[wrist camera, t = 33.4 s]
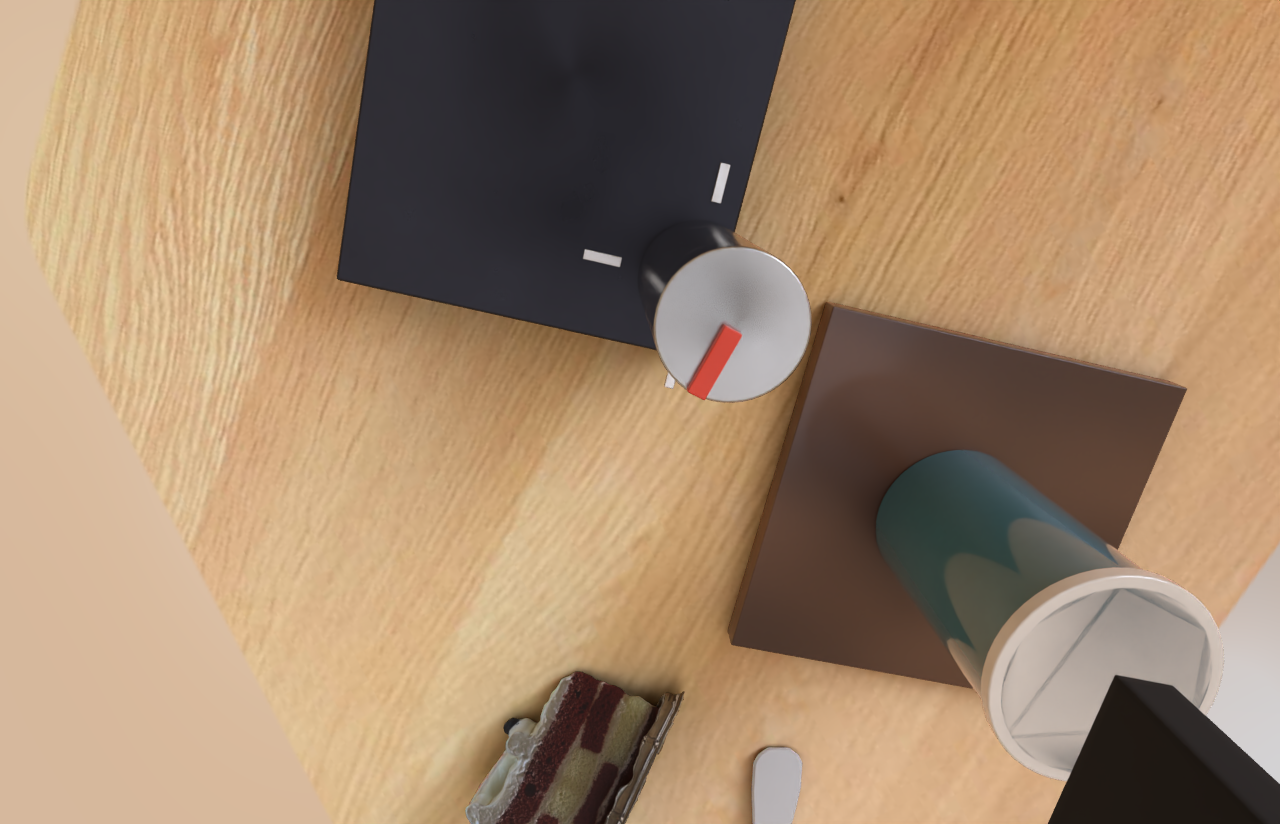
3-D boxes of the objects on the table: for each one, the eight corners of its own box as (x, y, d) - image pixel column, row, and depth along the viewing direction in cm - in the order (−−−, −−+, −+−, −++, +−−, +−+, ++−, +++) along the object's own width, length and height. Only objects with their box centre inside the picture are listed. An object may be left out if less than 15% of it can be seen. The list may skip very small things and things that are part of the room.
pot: (898, 426, 36) (1039, 554, 25) (1058, 461, 37) (1265, 600, 26) (846, 580, 38) (954, 763, 27) (999, 609, 39) (1167, 799, 28)
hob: (430, -243, 29) (411, -288, 26) (900, -105, 31) (932, -132, 28) (352, 300, 35) (329, 314, 32) (759, 389, 37) (774, 410, 34)
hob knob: (673, 198, 31) (704, 217, 22) (775, 255, 32) (845, 295, 23) (616, 303, 32) (625, 361, 23) (717, 356, 33) (762, 432, 24)
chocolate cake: (557, 612, 40) (410, 875, 34) (694, 684, 39) (569, 967, 33) (547, 666, 48) (427, 886, 42) (660, 726, 47) (555, 960, 41)
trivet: (825, 301, 36) (833, 306, 35) (1170, 381, 38) (1188, 388, 36) (727, 631, 40) (731, 645, 39) (1039, 688, 42) (1052, 703, 41)
